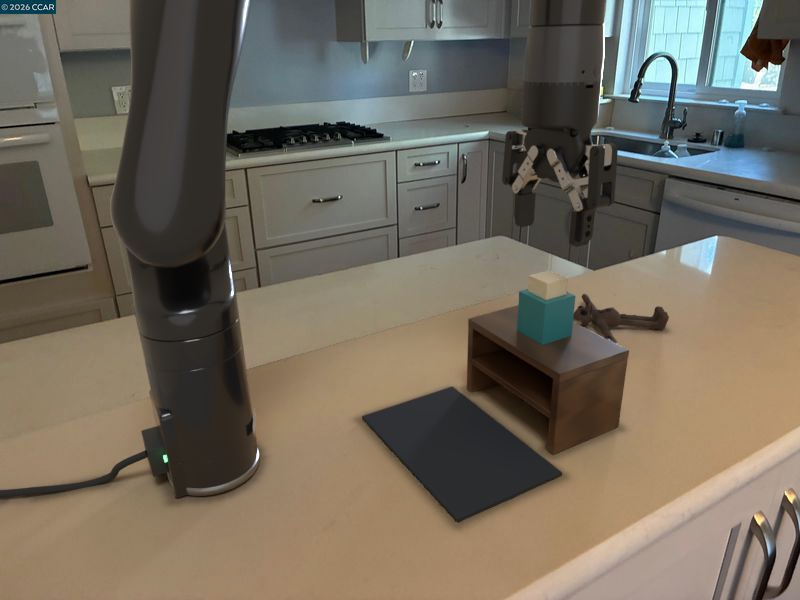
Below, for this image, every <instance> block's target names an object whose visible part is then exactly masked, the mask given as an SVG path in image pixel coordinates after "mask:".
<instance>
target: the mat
mask: <svg viewBox="0 0 800 600" xmlns="http://www.w3.org/2000/svg"><path fill="white" fill-rule="evenodd" d="M361 419H362V420H363V422H364V423H365V424H366V425H367V426H368V427H369V428H370V429H371V430H372V432H374V434H375V435H376V436H377V437H378V438H379V439H380V440H381V441H382V442H383V443H384V445H385V446H387V448H389V450H390V451H391V452H392V453H393V454H394V455H395V457H396V458H398V460H399V461H400V462H401V463H402V464H403V465H404V466H405V467H406V468H407V470H408V471H410V473H411V474H412V475H413V477H415V478H416V480H418V481H419V483H420V484H421V485H423V487H424V488H425V489H426V490H427V491H428V492H429V494H430V495H432V497H433V498H434V499H435V500H436V501H437V502H438V503H439V504H440V505H441V506H442V508H443V509H444V510H445V511H446V512H447V514H449V515H450V516H451V517H452V519H454V520H455V522H456V523H460V522H463V521H465V520H466V519H468V518H470V517H473V516H475V515H477V514H480V513H482V512H485V511H486V510H488V509H491V508H493V507H495V506H497V505H500V504H502V503H504V502H506V501H509V500H510V499H513V498H515V497H517V496H520V495H522V494H524V493H526V492H528V491H532V490H533V489H536V488H537V487H541V486H542V485H544V484H546V483H548V482H550V481H551V482H552V481H553V480H555V479H557V478H560V477H562V476H563V472H562V471H561V470H560V469H558V468H557V467H556V466H555V465H554V464H552V463H551V462H550V461H548V460H547V459H545V458H544V457H543V456H542V455H541V454H539V452H537V451H536V450H534V449H533V448H532V447H530V446H529V445H528V444H526V442H524V441H523V440H521V439H520V438H519V437H518V436H516V435H515V434H514V433H513V432H511V431H510V430H509V429H508V428H506V427H505V426H503V425H502V424H501V423H500V422H498V421H497V420H496V419H494V417H492V416H491V415H490V414H488V412H486V411H484V409H482V408H481V407H480V406H478V405H477V404H475V403H474V402H473V401H472V400H471V399H470V398H468V397H467V396H466V395H464V394H463V393H462V392H460V390H458V389H456V387H454V386H453V385H452V386H449V387H445V388H443V389H440V390H436V391H434V392H431V393H428V394H424V395H422V396H419V397H416V398H413V399H409V400H407V401H404V402H401V403H397V404H395V405H392V406H388V407H386V408H382V409H380V410H376V411H373V412H370V413H367V414H365V415H362V416H361Z"/></svg>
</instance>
